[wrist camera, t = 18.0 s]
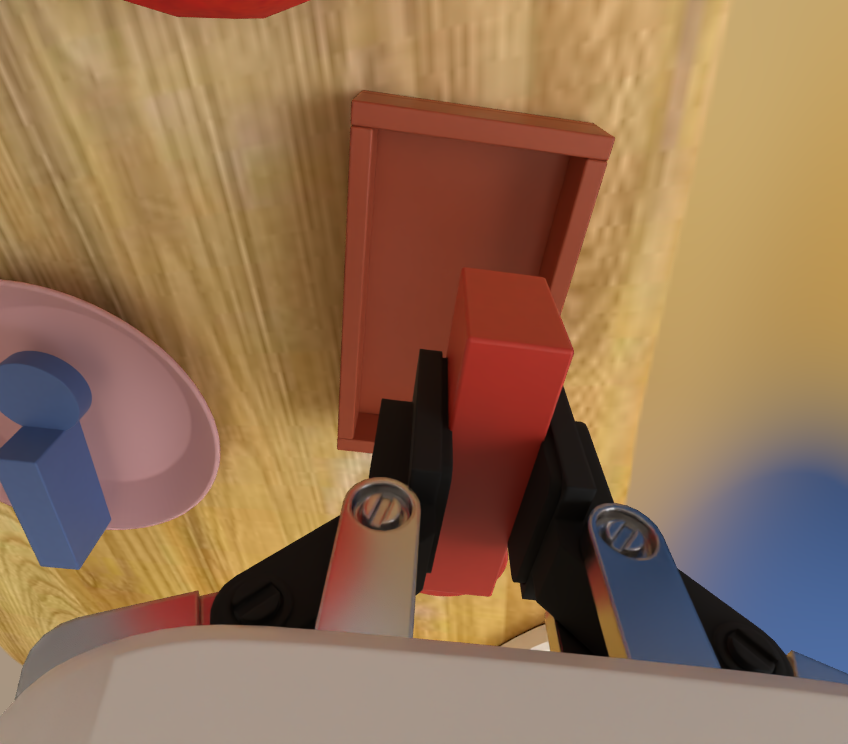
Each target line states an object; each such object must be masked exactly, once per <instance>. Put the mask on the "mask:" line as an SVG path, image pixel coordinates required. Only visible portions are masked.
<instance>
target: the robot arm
mask: <svg viewBox="0 0 848 744" xmlns="http://www.w3.org/2000/svg"><path fill="white" fill-rule="evenodd" d="M452 472H453V440H452V431H451V430H450V429H449V424H448V358H443V353H442V351H435V350H427V349H420V350H419V357H418V364H417V371H416V378H415V385H414V392H413V399H412V402H408V401H400V400H391V399H383V398H382V400H381V405H380V412H379V418H378V424H377V430H376V436H375V442H374V448H373V455H372V461H371V467H370V473H369V479H365V480H363V481H361V482H359V483H357V484H355V485H354V486H353V487H352V488H351V489H350V490H349V491H348V492H347V494H346V496H345V499H344V501H343V505H342V509H341V514H340V515H339V516H338V517H336V518H334V519H333V520H331V521H329V522H327V523H326V524H324V525H322V526H321V527H319V528H317V529H315V530H314V531H312V532H310V533H309V534H307V535H305V536H304V537H302V538H300V539H298V540H297V541H295V542H293V543H292V544H290V545H288V546H286V547H285V548H283V549H281V550H280V551H278V552H276V553H274V554H273V555H271V556H269V557H268V558H266V559H264V560H263V561H261V562H259V563H257V564H256V565H254V566H252V567H251V568H249V569H247V570H245V571H244V572H242V573H240V574H239V575H237V576H235V577H234V578H233V579H231V580H230V581H229V582H228V583H226V584H225V585H224V586H223V587H222V589H221V590H220V591H219V592H216V593H211V594H207V595H203V596H199V591H194V592H189V593H185V594H180V595H176V596H171V597H167V598H163V599H158V600H154V601H149V602H145V603H140V604H136V605H131V606H127V607H122V608H118V609H114V610H109V611H105V612H100V613H96V614H91V615H87V616H82V617H78V618H75V619H72V620H70V621H67V622H64V623H62V624H60V625H58V626H57V627H55V628H54V629H52V630H51V631H49V632H48V633H46V634H45V635H43V637H42V638H41V639H40V640H39V641H38V642H37V643H36V644H35V646H34V647H33V648H32V649H31V650H30V652H29V654H28V656H27V659H26V661H25V663H24V665H23V668H22V672H21V676H20V680H19V684H18V689H17V692H16V697H15V701H14V702H13V703H12V704H11V705H10V706H9V707H8V708H7V710H6V711H5V712H4V713H3V714H2V715H1V716H0V744H848V674H847V673H844V672H842V671H839V670H837V669H835V668H833V667H830V666H828V665H826V664H823V663H821V662H818V661H816V660H814V659H811V658H809V657H807V656H804V655H802V654H799V653H797V652H795V651H792V650H791V651H790V653H788V655H786V654H785V653H784V652H783V651H782V650H781V648H780V647H779V646H778V645H777V644H776V642H775V641H774V640H773V639H772V638H770V637H769V636H768V635H767V634H766V633H765V632H764V631H762V630H761V629H760V628H758V627H757V626H756V625H754V624H753V623H752V622H750V621H749V620H747V619H746V618H745V617H743V616H742V615H741V614H739V613H738V612H736V611H735V610H734V609H732V608H731V607H730V606H728V605H727V604H725V603H724V602H723V601H721V600H720V599H719V598H717V597H716V596H715V595H713V594H712V593H710V592H709V591H708V590H706V589H705V588H704V587H702V586H701V585H700V584H698V583H697V582H695V581H694V580H692V579H691V578H690V577H689V576H687V575H686V574H684V573H683V572H682V571H680V570H679V569H678V568H677V567H676V564H675V562H674V560H673V558H672V555H671V553H670V551H669V549H668V546H667V544H666V542H665V539H664V537H663V535H662V534H661V532H660V531H659V529H658V527H657V526H656V525H655V524H654V523H653V522H652V521H651V520H650V519H649V518H648V517H647V516H645V515H644V514H642V513H641V512H639V511H638V510H636V509H633V508H631V507H629V506H627V505H622V504H618V503H614V502H613V499H612V496H611V493H610V490H609V487H608V485H607V482H606V479H605V476H604V473H603V470H602V468H601V465H600V462H599V459H598V456H597V453H596V451H595V448H594V445H593V442H592V439H591V436H590V434H589V431H588V428H587V426H586V424H584V423H583V422H576V421H575V420H574V417H573V414H572V411H571V408H570V405H569V402H568V399H567V396H566V393H565V390H564V387H562V390H561V393H560V396H559V399H558V402H557V404H556V407H555V410H554V413H553V416H552V419H551V422H550V425H549V428H548V431H547V434H546V437H545V440H544V441H542V443H541V446H540V449H539V452H538V455H537V458H536V460H535V463H534V466H533V469H532V472H531V475H530V478H529V481H528V484H527V487H526V490H525V493H524V496H523V499H522V502H521V505H520V508H519V511H518V513H517V516H516V519H515V522H514V525H513V528H512V531H511V534H510V537H509V540H508V543H507V544H508V552H509V560H510V568H511V576H512V580H513V582H518V583H520V586H521V594H522V599H529V600H536V602H537V603H539V604H540V605H541V606H542V607H543V608H544V609H545V610H546V612H545V626H546V631H547V637H548V642H549V648H550V651H542V650H531V649H521V648H511V647H501V646H490V645H480V644H470V643H459V642H448V641H437V640H427V639H416V638H413V628H414V611H415V596H416V595H417V594H418V593H420V592H421V591H422V590H423V587H424V582H425V578H426V573H431V572H432V568H433V563H434V559H435V554H436V550H437V545H438V541H439V536H440V531H441V527H442V522H443V518H444V513H445V509H446V504H447V500H448V495H449V491H450V486H451V481H452Z"/></svg>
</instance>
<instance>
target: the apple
mask: <svg viewBox="0 0 848 744" xmlns="http://www.w3.org/2000/svg"><path fill="white" fill-rule="evenodd" d="M124 1H128V2H131V3H134V4H137V5H141V6H144V7H147V8H150V9H154V10H157V11H160V12H163V13H167V14H170V15H173V16H176V17H199V18H229V19H248V18H266V17H268V16H271V15H273V14H276V13H279V12H281V11H284V10H286V9H289V8H291V7H294V6H297V5H299V4H302V3H304V2H307V1H309V0H124Z"/></svg>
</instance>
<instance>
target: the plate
mask: <svg viewBox="0 0 848 744" xmlns="http://www.w3.org/2000/svg"><path fill="white" fill-rule="evenodd" d="M21 351H39V352H44V353H48V354H50V355H53V356H56V357H58V358H60V359H62V360H64V361H65V362H67V363H68V364H70V365H71V366H73V367H74V368H75V369H76V370H77V371H78V372H79V373H80V374H81V375H82V376H83V377H84V379H85V380H86V381H87V383H88V385H89V387H90V390H91V393H92V403H91V406H90V408H89V410H88V411H87V412H86V413H85V414H84V416H83V417H82V418H81V419H80V420H79V421H80V424H81V427H82V430H83V433H84V436H85V439H86V442H87V445H88V448H89V451H90V454H91V458H92V461H93V464H94V467H95V470H96V473H97V476H98V479H99V482H100V485H101V488H102V491H103V494H104V497H105V501H106V504H107V507H108V510H109V513H110V516H111V522H110V523H109V525H108V526H107V528H106V529H105V530H124V529H137V528H144V527H149V526H153V525H157V524H161V523H164V522H167V521H169V520H172V519H174V518H177V517H179V516H180V515H182V514H184V513H186V512H187V511H189V510H190V509H192V508H193V507H194V506H195V505H197V504H198V503H199V502H200V501H201V500H202V499H203V498H204V496H205V495H206V494H207V493H208V491H209V490H210V488H211V486H212V485H213V483H214V480H215V478H216V475H217V472H218V468H219V463H220V441H219V435H218V431H217V427H216V424H215V421H214V418H213V415H212V413H211V411H210V409H209V407H208V405H207V403H206V401H205V399H204V397H203V396H202V394H201V393H200V391H199V389H198V388H197V387H196V385H195V384H194V382H193V381H192V380H191V378H190V377H189V376H188V375H187V373H186V372H185V371H184V370H183V369H182V368H181V367H180V366H179V365H178V364H177V362H176V361H175V360H174V359H173V358H172V357H171V356H169V355H168V354H167V353H166V352H165V351H164V350H163V349H162V348H161V347H159V346H158V345H157V344H156V343H155V342H153V341H152V340H151V339H150V338H148V337H147V336H146V335H144V334H143V333H142V332H140V331H139V330H137V329H136V328H134V327H133V326H131V325H130V324H128V323H127V322H125V321H123V320H122V319H120V318H118V317H117V316H115V315H113V314H111V313H109V312H107V311H105V310H103V309H101V308H99V307H97V306H95V305H93V304H91V303H89V302H86V301H84V300H82V299H79V298H77V297H74V296H71V295H69V294H66V293H63V292H60V291H57V290H53V289H50V288H46V287H42V286H38V285H34V284H29V283H24V282H18V281H11V280H1V279H0V363H1V362H2V361H4V360H5V359H6V358H8V357H9V356H10V355H12V354H14V353H17V352H21ZM21 427H22V426H21V425H19V424H17V423H15V422H14V421H12V420H10V419H9V418H8V417H6V416H5V415H4V414H3V413H1V412H0V448H1V447H2V446H3V445H4V444H5V443H6V442H7V441H8V440H9V439H10V438H11V437H12V436H13V435H14V434H15V433H16V432H17V431H18V430H19V429H20V428H21ZM0 501H1V502H3V503H5V504H7V505H9V506H11V507H12V505H11V503H10V501H9V499H8V497H7V495H6V492H5V490H4V488H3V486H2V484H1V482H0Z"/></svg>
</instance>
